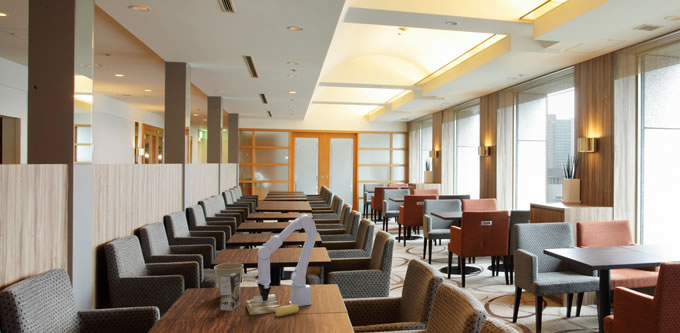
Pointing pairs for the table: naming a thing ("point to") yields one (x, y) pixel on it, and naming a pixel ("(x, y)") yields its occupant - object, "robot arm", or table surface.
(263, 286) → the robot arm
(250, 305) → the rack
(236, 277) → the coffee box
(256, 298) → the tall white tube
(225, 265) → the plant pot
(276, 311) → the pale yellow cylinder
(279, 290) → the table surface
